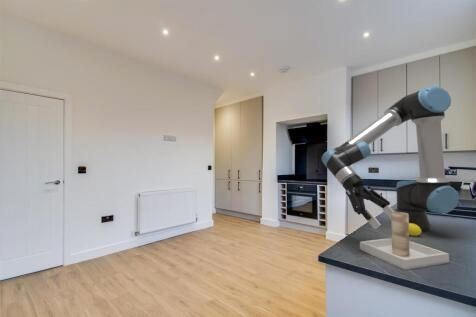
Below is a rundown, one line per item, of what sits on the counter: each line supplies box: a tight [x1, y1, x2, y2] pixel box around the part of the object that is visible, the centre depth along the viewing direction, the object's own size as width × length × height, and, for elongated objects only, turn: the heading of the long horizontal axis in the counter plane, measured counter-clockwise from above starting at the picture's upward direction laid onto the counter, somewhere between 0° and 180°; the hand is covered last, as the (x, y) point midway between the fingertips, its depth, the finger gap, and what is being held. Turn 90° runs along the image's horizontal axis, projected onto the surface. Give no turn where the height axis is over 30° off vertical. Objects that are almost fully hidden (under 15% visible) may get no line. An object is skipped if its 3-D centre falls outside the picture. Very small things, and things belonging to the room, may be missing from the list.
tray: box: [359, 237, 450, 271], centre depth 84 cm, size 18×18×3 cm
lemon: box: [409, 223, 423, 237], centre depth 107 cm, size 7×5×5 cm
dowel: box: [390, 211, 410, 257], centre depth 84 cm, size 5×5×14 cm
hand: (388, 224), depth 87 cm, fingers open, 13 cm apart
